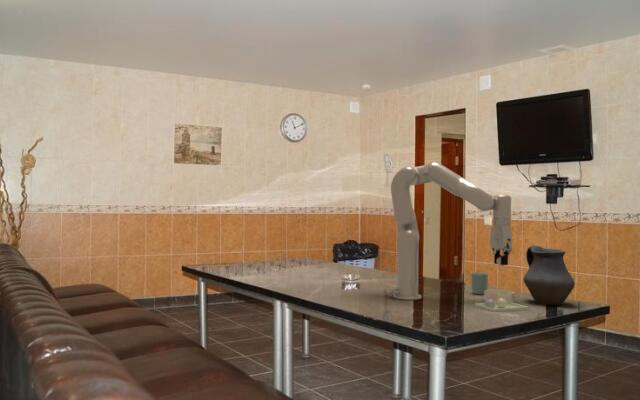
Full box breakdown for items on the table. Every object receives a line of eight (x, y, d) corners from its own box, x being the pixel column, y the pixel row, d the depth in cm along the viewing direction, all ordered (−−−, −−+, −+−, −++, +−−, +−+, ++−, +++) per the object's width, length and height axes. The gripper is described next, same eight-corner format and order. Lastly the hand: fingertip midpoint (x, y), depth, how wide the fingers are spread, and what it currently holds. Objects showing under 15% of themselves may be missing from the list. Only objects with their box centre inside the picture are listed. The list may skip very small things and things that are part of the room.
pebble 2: (500, 266, 233) (500, 257, 233) (494, 265, 237) (494, 256, 237) (507, 266, 235) (508, 257, 235) (502, 265, 238) (502, 256, 238)
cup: (488, 295, 253) (488, 274, 253) (471, 295, 255) (471, 274, 255) (486, 293, 261) (487, 272, 261) (470, 292, 262) (470, 272, 262)
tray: (493, 313, 212) (493, 309, 212) (474, 307, 224) (474, 303, 224) (529, 310, 218) (529, 306, 218) (508, 305, 230) (508, 301, 230)
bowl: (496, 305, 228) (496, 295, 228) (478, 300, 240) (478, 290, 240) (520, 304, 232) (520, 293, 232) (501, 299, 244) (501, 289, 244)
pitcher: (551, 309, 221) (552, 249, 221) (510, 301, 240) (511, 245, 240) (584, 305, 230) (584, 247, 230) (542, 297, 249) (543, 244, 250)
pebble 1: (489, 309, 216) (489, 299, 217) (483, 307, 220) (483, 298, 220) (497, 309, 218) (497, 299, 218) (491, 307, 222) (491, 297, 222)
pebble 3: (500, 309, 218) (500, 299, 218) (494, 307, 222) (494, 297, 222) (508, 308, 220) (508, 298, 220) (502, 306, 223) (502, 297, 223)
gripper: (483, 222, 243) (482, 262, 243) (506, 223, 227) (505, 266, 227) (497, 222, 245) (496, 262, 245) (521, 223, 229) (520, 266, 229)
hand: (501, 263), depth 236 cm, fingers closed on pebble 2, 4 cm apart
